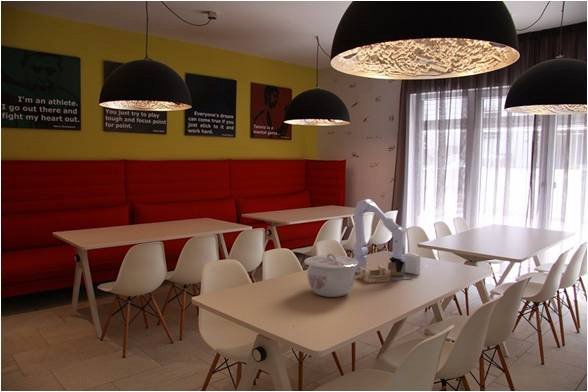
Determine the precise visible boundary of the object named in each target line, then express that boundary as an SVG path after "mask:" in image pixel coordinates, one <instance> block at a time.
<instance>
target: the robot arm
mask: <svg viewBox="0 0 588 392" xmlns="http://www.w3.org/2000/svg"><path fill="white" fill-rule="evenodd" d="M366 212H370V213H373V214H374V215H376V216H377V217H378V218H379V219H380V220H381V221H382V225H383V226H384V227H385V228H386V229H387V230H388V231H389V232H390V233H391V237H392V251H391V252H389V257H390V258H389V261H390V262H395V263H396V268H397V272H401V269H402V266H403V264H404V262H405V258H404V255H402V253H404V252H403V247H404V235H405V229H404V228H403V227H402V226H400V225H399V224H397V223H396V222H395V221H394V219H393V218H391V217H389V216H388V217H387V216H386V214H385V213H384V212H383V211H382V210H381V209H380V208H379V206H378V205H377V204H376V202H374V201H373V200H372V199H371V198H366V199H361V200H359V201H358V202H357V203H356V206H355V209H354V211H353V219H354V220H353V221H354V232H355V243H354V248H353V250H352V253H353V255H354V256H353V257H352V259H355V260H357V261H358V265H356V266H354V267H353V268H354V270H355V274H356V273H357V274H359V267H361V268H363V269H365V270H367V269H368V268H367V265H368V264H367V262H368V256H367V255H368V253H369V247H368V243H367V241H365V227H364V226H365V224H364V215H365V213H366Z"/></svg>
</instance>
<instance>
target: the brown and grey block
mask: <svg viewBox="0 0 588 392" xmlns="http://www.w3.org/2000/svg"><path fill="white" fill-rule="evenodd" d="M387 269H388V270H390V271H391V276H398V275H406V272H405V263H404V264H403V266H402V269H401V272H397V268H396V263H395V262H391V261H390V262H387Z"/></svg>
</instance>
